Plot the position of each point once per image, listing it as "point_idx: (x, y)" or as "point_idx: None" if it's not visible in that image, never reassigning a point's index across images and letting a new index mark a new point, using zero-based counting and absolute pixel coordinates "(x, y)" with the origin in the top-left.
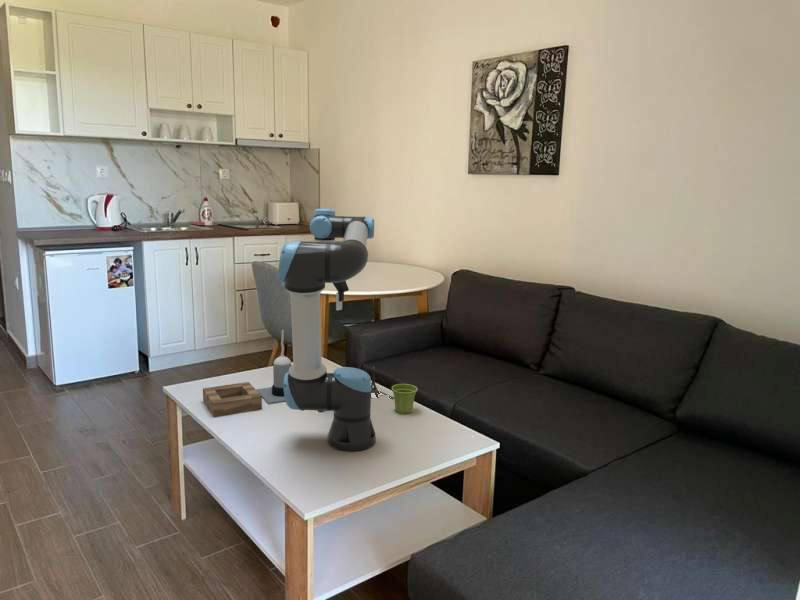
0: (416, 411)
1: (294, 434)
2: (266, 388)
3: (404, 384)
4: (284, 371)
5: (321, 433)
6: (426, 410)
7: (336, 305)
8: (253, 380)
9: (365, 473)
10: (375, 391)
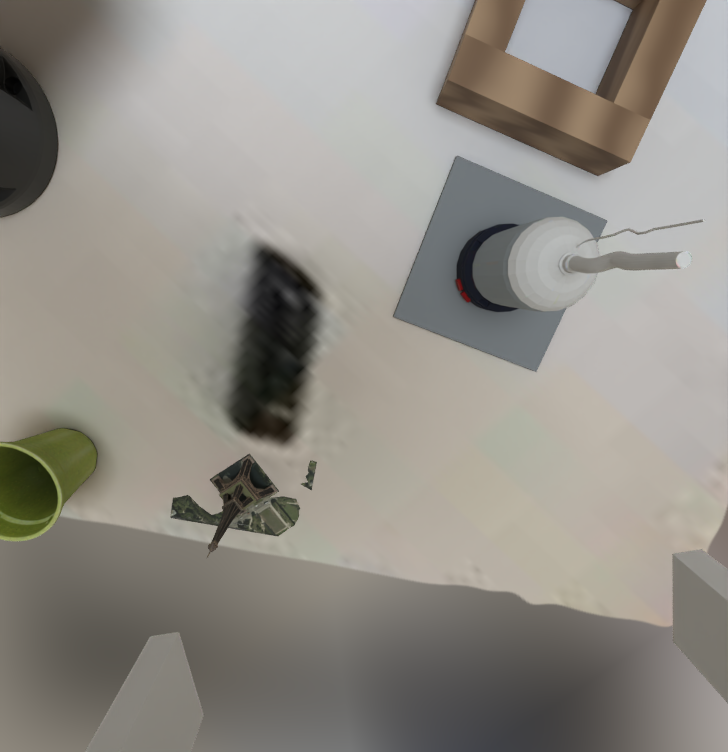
0: None
1: (155, 21)
2: None
3: (45, 527)
4: (500, 246)
5: (97, 102)
6: None
7: (142, 698)
8: (700, 293)
9: None
10: (222, 490)
